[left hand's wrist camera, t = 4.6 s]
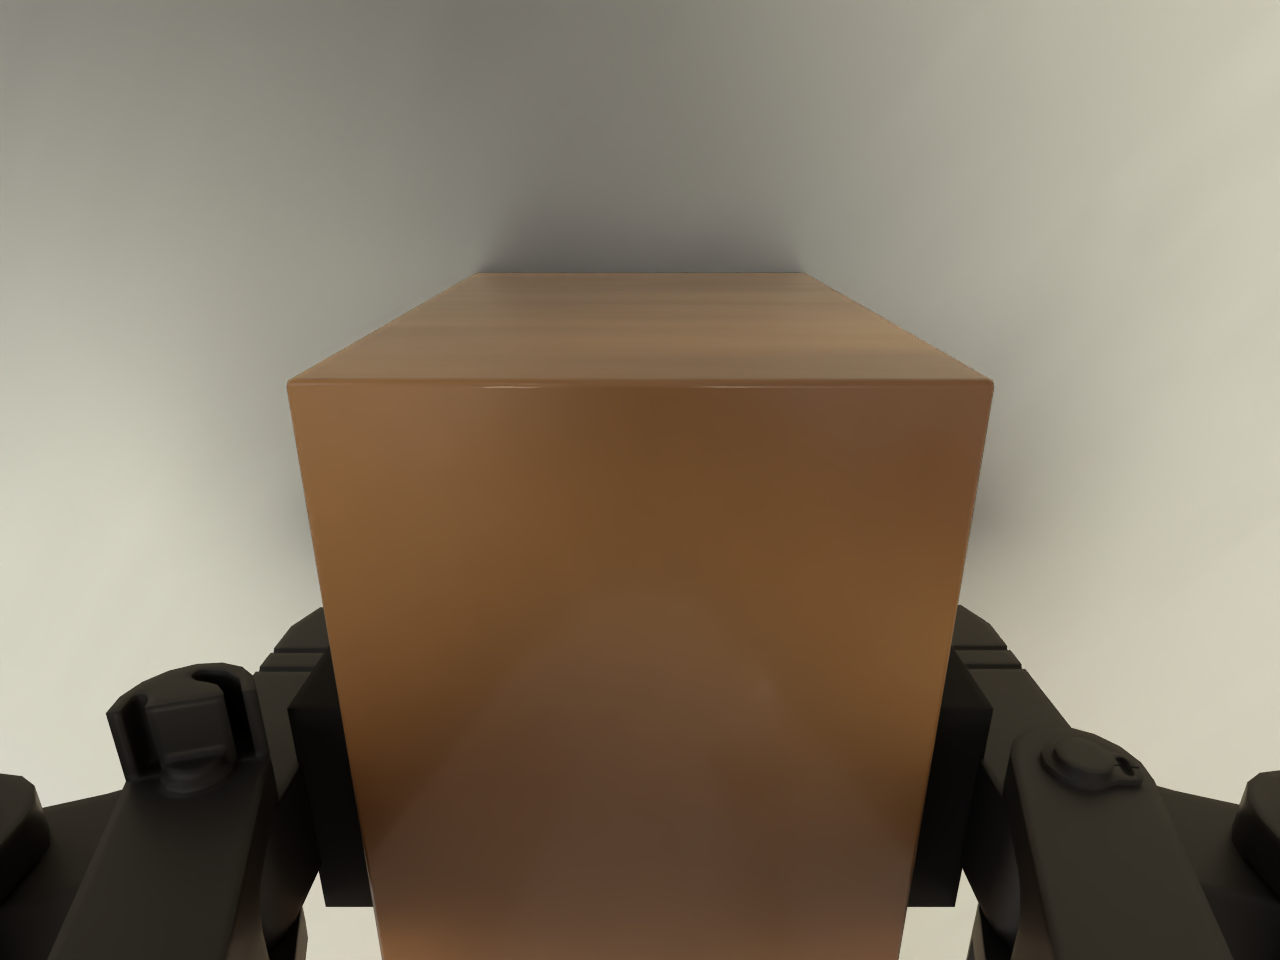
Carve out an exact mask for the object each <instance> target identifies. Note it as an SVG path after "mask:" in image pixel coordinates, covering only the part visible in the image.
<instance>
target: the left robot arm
mask: <svg viewBox="0 0 1280 960" xmlns="http://www.w3.org/2000/svg"><path fill="white" fill-rule="evenodd" d="M106 716H107V719H108V722H109V726H110V729H111V732H112V736H113V739H114V742H115V746H116V749H117V753H118V756H119V759H120V763H121V766H122V769H123V773H124V776H125V779H126V783H125V785H124V787H123V790H119V791H116V792H112V793H109V794H104V795H100V796H95V797H91V798H86V799H81V800H77V801H72V802H68V803H63V804H58V805H54V806H49V807H45V808H42V806H41V803H40V800H39V797H38V795H37V792H36V789H35V786H34V785H33V784H31V783H30V782H29V781H28V780H26V779H25V778H24V777H22V776H16V775H8V774H0V960H305V959H306V950H307V941H308V936H307V929H306V922H305V917H304V912H303V907H302V905H303V903H304V901H305V899H306V897H307V895H308V893H309V890H310V888H311V886H312V884H313V882H314V880H315V877H316V875H317V873H318V871H319V874H320V879H321V884H322V890H323V895H324V900H325V905H326V907H373V902H372V896H371V890H370V884H369V878H368V872H367V866H366V860H365V854H364V848H363V842H362V836H361V830H360V824H359V818H358V812H357V806H356V800H355V794H354V788H353V782H352V776H351V770H350V764H349V758H348V752H347V746H346V740H345V734H344V728H343V722H342V716H341V710H340V704H339V698H338V692H337V686H336V680H335V674H334V668H333V662H332V656H331V650H330V644H329V638H328V632H327V626H326V620H325V614H324V608H323V607H320V608H319V609H317V610H316V611H314V612H313V613H311V614H309V615H308V616H306V617H305V618H303V619H302V620H300V621H299V622H297V623H296V624H294V625H293V626H291V627H290V629H289V630H288V631H287V633H286V634H285V635H284V636H283V638H282V639H281V640H280V642H279V643H278V644H277V645H276V647H275V648H274V653H270V654H269V656H268V657H267V658H266V660H265V661H264V662H263V663H262V665H261V666H260V670H259V672H255V674H254V675H252V674H250V673H249V672H248V671H247V670H245V669H244V668H243V667H240V666H236V665H231V664H226V663H207V664H195V665H191V666H187V667H182V668H178V669H174V670H170V671H167V672H165V673H162V674H160V675H158V676H155V677H153V678H151V679H148V680H146V681H143V682H142V683H140V684H139V685H137V686H136V687H134V688H133V689H131V690H130V691H128V692H126V693H125V694H123V695H122V696H120V697H119V699H118V700H117V701H116V702H115V703H114V704H113V706H112V707H111V708H110V709H109V710H108V711H107V713H106ZM962 868H963V870H964V872H965V875H966V877H967V879H968V881H969V883H970V885H971V887H972V890H973V892H974V894H975V896H976V898H977V900H978V907H977V912H976V917H975V921H974V926H973V931H972V936H971V940H970V945H969V950H968V954H967V959H966V960H1280V771H1271V772H1263V773H1259V774H1258V775H1256V776H1255V777H1254V778H1252V779H1251V780H1250V781H1249V782H1247V785H1246V788H1245V791H1244V794H1243V797H1242V799H1241V802H1240V805H1238V804H1233V803H1229V802H1224V801H1219V800H1215V799H1210V798H1206V797H1201V796H1196V795H1192V794H1187V793H1182V792H1178V791H1173V790H1170V789H1166V788H1163V787H1159V786H1156V784H1155V781H1154V780H1153V778H1152V777H1151V776H1150V774H1149V773H1148V771H1147V770H1146V769H1145V767H1144V766H1143V765H1142V763H1141V762H1140V761H1138V760H1137V759H1136V758H1134V757H1133V756H1132V755H1130V754H1129V753H1128V752H1127V751H1125V750H1124V749H1123V748H1121V747H1120V746H1118V745H1116V744H1114V743H1112V742H1110V741H1108V740H1106V739H1103V738H1101V737H1099V736H1097V735H1095V734H1092V733H1088V732H1085V731H1081V730H1077V729H1074V728H1071V727H1070V726H1069V724H1068V723H1067V722H1066V721H1065V719H1064V718H1063V717H1062V715H1061V714H1060V713H1059V712H1058V710H1057V709H1056V708H1055V706H1054V705H1053V704H1052V703H1051V701H1050V700H1049V699H1048V698H1047V696H1046V695H1045V694H1044V692H1043V691H1042V690H1041V689H1040V687H1039V686H1038V685H1037V684H1036V682H1035V681H1034V680H1033V678H1032V677H1031V676H1030V675H1029V673H1028V672H1027V671H1026V670H1025V669H1022V667H1021V663H1020V662H1019V661H1018V659H1017V658H1016V657H1015V655H1014V654H1013V653H1012V652H1011V650H1007V645H1006V644H1005V643H1004V641H1003V640H1002V639H1001V638H1000V636H999V635H998V634H997V633H996V631H995V630H994V629H993V627H992V626H991V625H990V624H989V623H988V622H986V621H985V620H983V619H981V618H980V617H978V616H977V615H975V614H974V613H972V612H971V611H969V610H968V609H966V608H965V607H963V606H961V605H958V606H957V612H956V618H955V624H954V630H953V636H952V642H951V648H950V654H949V660H948V666H947V672H946V678H945V684H944V690H943V696H942V702H941V708H940V714H939V720H938V726H937V732H936V738H935V744H934V750H933V756H932V762H931V768H930V774H929V780H928V786H927V792H926V798H925V804H924V809H923V815H922V821H921V827H920V833H919V839H918V845H917V851H916V857H915V863H914V869H913V875H912V881H911V887H910V893H909V899H908V905H907V907H955V902H956V897H957V892H958V887H959V882H960V877H961V872H962Z"/></svg>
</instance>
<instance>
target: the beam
mask: <svg viewBox="0 0 1280 960" xmlns="http://www.w3.org/2000/svg"><path fill="white" fill-rule="evenodd" d="M993 391H994V383H993V380H991V379H989V378H987V377H986V376H984V375H982V374H980V373H979V372H977V371H975V370H973V369H972V368H970V367H968V366H966V365H965V364H963V363H961V362H959V361H958V360H956V359H954V358H952V357H951V356H949V355H947V354H945V353H944V352H942V351H940V350H938V349H937V348H935V347H933V346H931V345H930V344H928V343H926V342H924V341H923V340H921V339H919V338H918V337H916V336H914V335H912V334H911V333H909V332H907V331H905V330H904V329H902V328H900V327H898V326H897V325H895V324H893V323H891V322H890V321H888V320H886V319H884V318H883V317H881V316H879V315H877V314H876V313H874V312H872V311H870V310H869V309H867V308H865V307H863V306H862V305H860V304H858V303H856V302H855V301H853V300H851V299H849V298H848V297H846V296H844V295H842V294H841V293H839V292H837V291H835V290H834V289H832V288H830V287H828V286H827V285H825V284H823V283H822V282H820V281H818V280H816V279H815V278H813V277H811V276H809V275H808V274H806V273H475V274H473V275H471V276H469V277H468V278H466V279H464V280H462V281H461V282H459V283H457V284H455V285H454V286H452V287H450V288H449V289H447V290H445V291H443V292H442V293H440V294H438V295H436V296H435V297H433V298H431V299H429V300H428V301H426V302H424V303H422V304H421V305H419V306H417V307H415V308H414V309H412V310H410V311H408V312H407V313H405V314H403V315H401V316H400V317H398V318H396V319H394V320H393V321H391V322H389V323H388V324H386V325H384V326H382V327H381V328H379V329H377V330H375V331H374V332H372V333H370V334H368V335H367V336H365V337H363V338H361V339H360V340H358V341H356V342H354V343H353V344H351V345H349V346H347V347H346V348H344V349H342V350H340V351H339V352H337V353H335V354H334V355H332V356H330V357H328V358H327V359H325V360H323V361H321V362H320V363H318V364H316V365H314V366H313V367H311V368H309V369H307V370H306V371H304V372H302V373H300V374H299V375H297V376H295V377H293V378H292V379H290V380H288V382H287V392H288V398H289V404H290V410H291V416H292V422H293V428H294V434H295V440H296V446H297V452H298V458H299V464H300V470H301V476H302V482H303V488H304V494H305V500H306V506H307V512H308V518H309V524H310V530H311V536H312V542H313V548H314V554H315V560H316V566H317V572H318V578H319V584H320V590H321V596H322V602H323V608H324V614H325V620H326V626H327V632H328V638H329V644H330V650H331V656H332V662H333V668H334V674H335V680H336V686H337V692H338V698H339V704H340V710H341V716H342V722H343V728H344V734H345V740H346V746H347V752H348V758H349V764H350V770H351V776H352V782H353V788H354V794H355V800H356V806H357V812H358V818H359V824H360V830H361V836H362V842H363V848H364V854H365V860H366V866H367V872H368V878H369V884H370V890H371V896H372V902H373V908H374V914H375V920H376V926H377V932H378V938H379V944H380V950H381V956H382V960H898V959H899V953H900V947H901V941H902V935H903V929H904V923H905V917H906V911H907V905H908V899H909V893H910V887H911V881H912V875H913V869H914V863H915V857H916V851H917V845H918V839H919V833H920V827H921V821H922V815H923V809H924V804H925V798H926V792H927V786H928V780H929V774H930V768H931V762H932V756H933V750H934V744H935V738H936V732H937V726H938V720H939V714H940V708H941V702H942V696H943V690H944V684H945V678H946V672H947V666H948V660H949V654H950V648H951V642H952V636H953V630H954V624H955V618H956V612H957V606H958V600H959V594H960V588H961V582H962V576H963V570H964V564H965V558H966V552H967V546H968V540H969V534H970V528H971V522H972V516H973V510H974V504H975V498H976V492H977V486H978V480H979V474H980V468H981V462H982V456H983V451H984V445H985V439H986V433H987V427H988V421H989V415H990V409H991V403H992V397H993Z"/></svg>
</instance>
